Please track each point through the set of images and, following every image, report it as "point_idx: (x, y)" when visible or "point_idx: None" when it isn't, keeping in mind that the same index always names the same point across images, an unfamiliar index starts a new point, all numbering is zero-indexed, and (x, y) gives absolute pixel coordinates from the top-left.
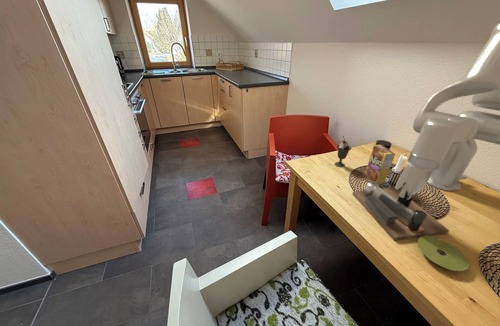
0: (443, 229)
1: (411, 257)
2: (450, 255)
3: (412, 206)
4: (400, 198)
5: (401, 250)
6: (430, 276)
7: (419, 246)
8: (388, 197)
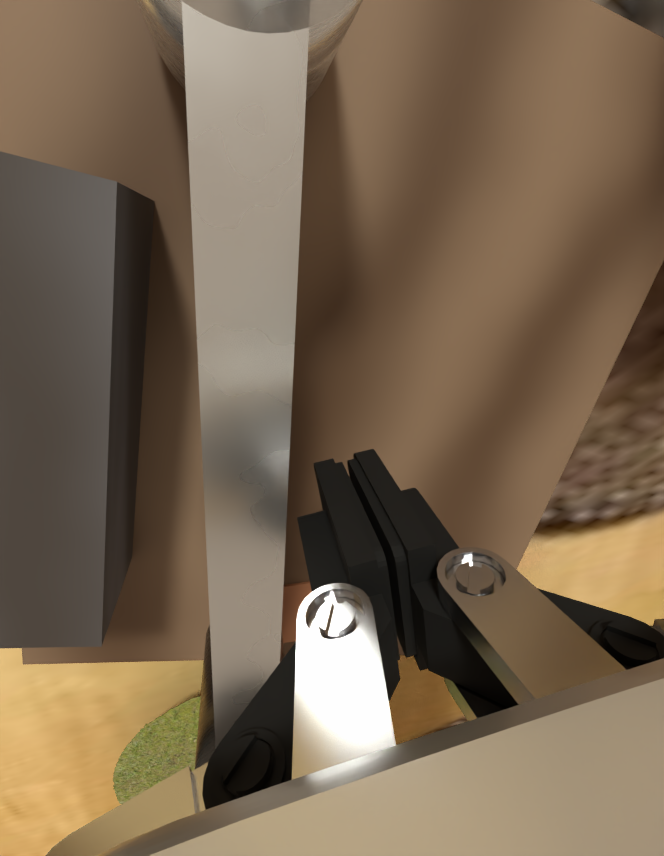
0: None
1: (63, 726)
2: None
3: (524, 428)
4: (337, 548)
5: (34, 689)
6: (74, 800)
7: (138, 739)
8: (202, 434)
